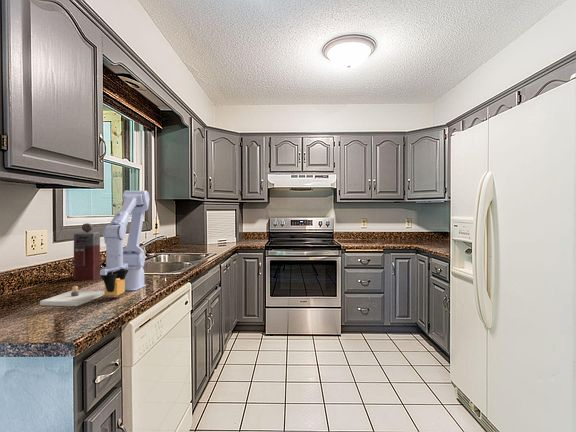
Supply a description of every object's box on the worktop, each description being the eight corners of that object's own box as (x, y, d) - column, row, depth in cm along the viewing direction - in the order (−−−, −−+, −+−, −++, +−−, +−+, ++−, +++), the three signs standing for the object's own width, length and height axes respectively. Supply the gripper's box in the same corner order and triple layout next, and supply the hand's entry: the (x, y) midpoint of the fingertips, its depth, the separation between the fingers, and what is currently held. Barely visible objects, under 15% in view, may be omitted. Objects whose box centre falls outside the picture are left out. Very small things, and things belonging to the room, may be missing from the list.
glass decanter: (71, 281, 150) (71, 223, 150) (81, 276, 161) (80, 223, 161) (92, 280, 152) (92, 223, 152) (100, 276, 163) (100, 223, 163)
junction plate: (73, 293, 128) (73, 281, 128) (105, 294, 127) (105, 282, 127) (39, 305, 112) (39, 291, 112) (77, 306, 111) (76, 292, 111)
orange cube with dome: (112, 291, 124) (112, 277, 124) (124, 291, 124) (124, 277, 124) (104, 295, 119) (104, 280, 119) (117, 295, 119) (117, 280, 119)
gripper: (113, 258, 114) (113, 295, 114) (134, 252, 129) (135, 285, 129) (94, 258, 114) (94, 294, 115) (118, 252, 129) (118, 285, 129)
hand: (114, 289), depth 122 cm, fingers closed on orange cube with dome, 5 cm apart
